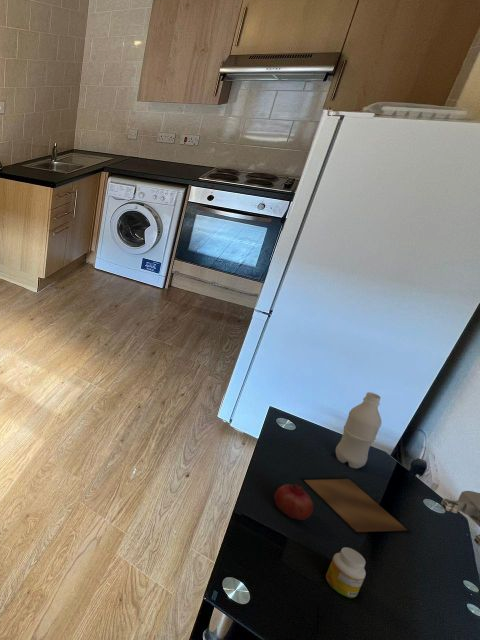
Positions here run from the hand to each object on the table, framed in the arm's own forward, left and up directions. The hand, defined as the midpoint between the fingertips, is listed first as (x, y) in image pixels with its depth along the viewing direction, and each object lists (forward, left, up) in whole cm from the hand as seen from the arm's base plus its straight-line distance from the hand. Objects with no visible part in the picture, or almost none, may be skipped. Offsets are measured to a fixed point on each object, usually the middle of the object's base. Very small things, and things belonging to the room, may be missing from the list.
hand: (459, 521), depth 78 cm
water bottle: (+41, -28, -28) cm, 57 cm away
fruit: (+25, +6, -28) cm, 38 cm away
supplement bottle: (+6, +9, -28) cm, 30 cm away
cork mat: (+26, -14, -27) cm, 40 cm away
